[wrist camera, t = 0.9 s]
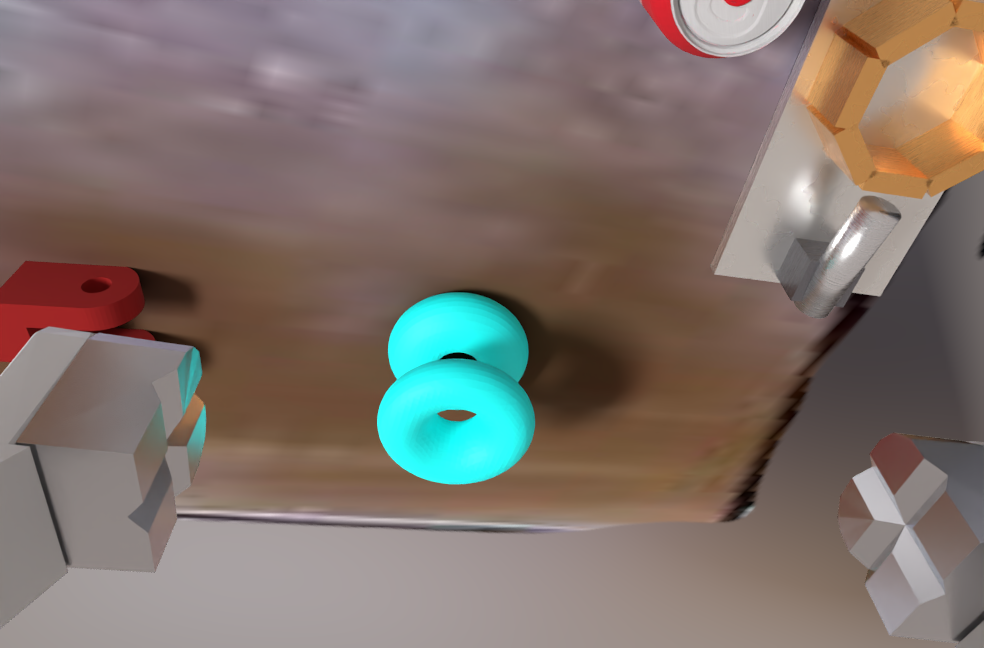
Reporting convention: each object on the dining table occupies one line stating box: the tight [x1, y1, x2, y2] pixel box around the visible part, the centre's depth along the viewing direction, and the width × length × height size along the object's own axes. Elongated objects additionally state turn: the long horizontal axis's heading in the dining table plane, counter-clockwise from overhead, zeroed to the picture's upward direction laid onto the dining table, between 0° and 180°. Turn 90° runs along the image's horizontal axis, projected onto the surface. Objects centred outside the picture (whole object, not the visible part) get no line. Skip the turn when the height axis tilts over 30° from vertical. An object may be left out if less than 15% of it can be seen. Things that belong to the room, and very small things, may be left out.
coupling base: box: [710, 0, 984, 318], centre depth 38 cm, size 28×12×6 cm, turn 171°
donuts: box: [377, 292, 535, 484], centre depth 48 cm, size 10×10×10 cm
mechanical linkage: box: [0, 261, 155, 362], centre depth 48 cm, size 16×7×5 cm, turn 85°
